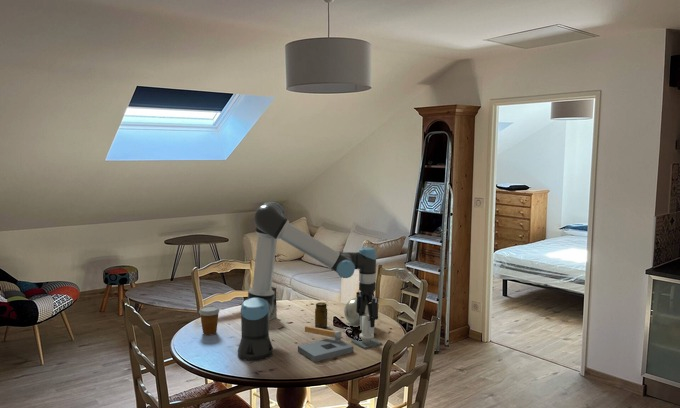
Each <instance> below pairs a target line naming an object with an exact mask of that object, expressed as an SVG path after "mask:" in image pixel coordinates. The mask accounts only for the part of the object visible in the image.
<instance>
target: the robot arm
mask: <svg viewBox="0 0 680 408" xmlns="http://www.w3.org/2000/svg"><path fill="white" fill-rule="evenodd" d="M253 221H254V225H255V233H256V234H257V241H256V242H257V243H256V250H255V251H256V252H255V259H254V261H255V262H254V269H253V277H252V285H251V287H250V288H249V289H248V292H247V299H245V300H244V301H243V302H242V303H241V307H240V314H241V315H240V316H241V317H240V318H241V319H240V322H241V324H240V325H241V328H240V329H241V330H240V331H241V338H240V340H239V341H240V342H239V345H238V348H237V357H238V358H239V359H241V360H244V361H250V362H253V361H255V362H258V361H263V360H267V359H270V358H271V357H272V356H273V354H274V347H273V344H272V341H271V339H270V331H269V329H270V326H269V325H270V322H269V321H270V320H269V317H270V315H271V313H272V311H273V308H274V302H273V299H274V291H273V290H272V289H271V287H273V286H272V285H273V277H274V270H275V259H276V251H277V245H278V244H277V243H278V240H281V241H283V242H285V243H286V244H288V245H290V246H291V247H293V248H295V249H297V250H298V251H301V252H302V253H303V254H305V255H306V256H309V257H310V258H312V259H314V260H316V261H317V262H318V263H321V264H323V265H324V266H326V267H328V268H329V269H331V271H334V272H336V273H337V275H338V276H339V277H340V278H342V279H349V278H351V277H352V276H354V273H355V271H356V270H358V271H359V272H358V281H359V282H358V290H359V291H357V292H356V295H357V309H356V312H357V313H359V318H360V319H359V321H360V329H359V331H362V316H363V315H364V314H365V309H366V305H367V306H368V312H369V318H370V319H369V320H368V334H375V325H376V322H375V321H376V320H379V304H378V303H379V298H378V297H376V296H375V292H376V290H377V287H376V285H377V283H376V281H377V280H376V279H377V278H376V277H377V275H376V274H377V251H376V249H375V248H374V247H371V246H365V247H360V248H359V251H358V252H357V251H355V252H351V251H350V252H349V251H348V252H347V251H346V252H345V251H343V252H342V251H340V252H338V251H336V250H335V249H333V248H331V247H330V246H328V245H326V244H325V243H323V242H321V241H320V240H318V239H316V238H315V237H313V236H311V235H309V233H307V232H305V231H303V230H301V229H300V228H298V227H297V226H294V225H293V224H291V223H290V221H289V219H288V218H286V217H285V211H284V209H283V207H282V206H281V205H280V204H279V203H277V202H273V201H267V202H264V203H263V204H261V205H260V206H259V207H258V208H257V209H256V210H255V212H254V215H253ZM359 309H360V310H359Z"/></svg>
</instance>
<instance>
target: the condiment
mask: <svg viewBox="0 0 680 408" xmlns="http://www.w3.org/2000/svg"><path fill="white" fill-rule="evenodd" d="M327 308H328V307H327V303H326V302H323V301H322V302H321V301H320V302H317V303H315V311H314V325H311V327H316V328H321V329H326V330H332V329H333V327H331V326H329V325H328V309H327Z"/></svg>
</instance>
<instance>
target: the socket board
mask: <svg viewBox="0 0 680 408" xmlns="http://www.w3.org/2000/svg"><path fill="white" fill-rule="evenodd" d="M297 352H298V353H300V354H301V355H303V356H305V357H306V358H308V359H309V360H311V361H312V362H313V363H315V362H319V361H320V362H321V361H323V360H328V359H330V358H331V359H332V358H336V357H338V356H339V357H340V356H343V355H347V354H350V353H354V346H353V345H352V344H349V343H348V342H346V341H344V340H342V338H341V339H335V338H334V337H329V338H325V339H321V340H317V341H312V342H309V343H305V344H304V343H303V344H300V345H297Z"/></svg>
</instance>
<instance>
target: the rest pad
mask: <svg viewBox="0 0 680 408" xmlns="http://www.w3.org/2000/svg"><path fill="white" fill-rule="evenodd" d="M351 343H352V344H354V345H356V346H358V347H360V348H361V349H364V350H365V349H366V350H367V349H371V348H375V347H378V346H382V345H383V342H381V341H380V340H378V339H375V338H373V339H371V343H363V342H362V341H357V340H356V339H353V340H352V339H351ZM370 347H371V348H370Z"/></svg>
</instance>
